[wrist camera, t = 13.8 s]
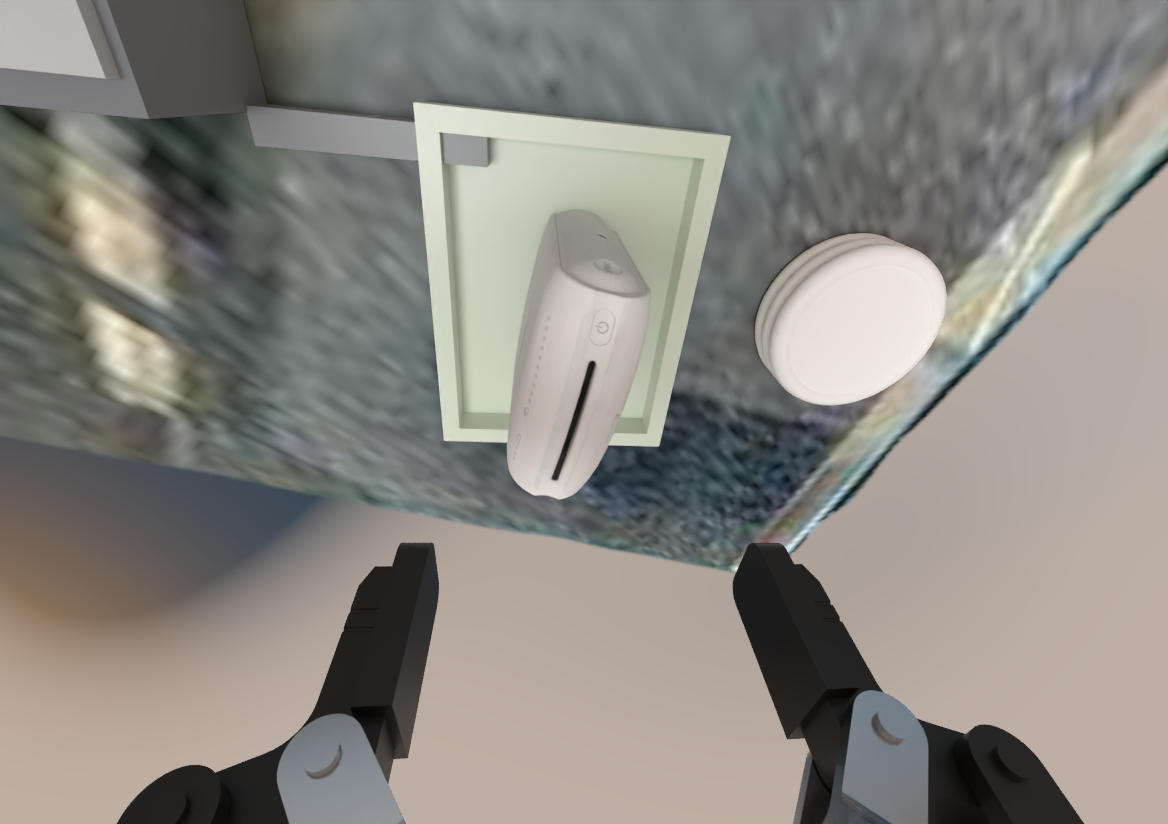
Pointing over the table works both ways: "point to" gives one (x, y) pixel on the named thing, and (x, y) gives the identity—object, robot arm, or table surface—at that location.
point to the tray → (514, 230)
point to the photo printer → (574, 354)
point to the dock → (180, 74)
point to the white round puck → (849, 318)
